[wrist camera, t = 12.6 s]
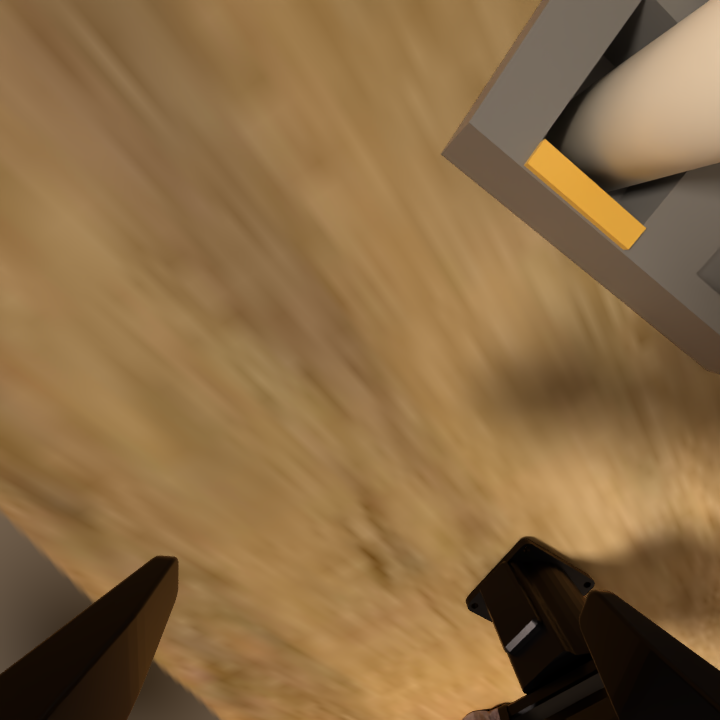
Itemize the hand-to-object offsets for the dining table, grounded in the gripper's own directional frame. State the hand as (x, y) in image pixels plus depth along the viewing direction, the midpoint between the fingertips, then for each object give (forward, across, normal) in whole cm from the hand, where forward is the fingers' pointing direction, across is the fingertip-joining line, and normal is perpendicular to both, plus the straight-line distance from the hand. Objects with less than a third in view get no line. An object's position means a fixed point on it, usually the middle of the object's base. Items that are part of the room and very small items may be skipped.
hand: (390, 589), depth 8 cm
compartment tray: (+13, -13, -12) cm, 22 cm away
